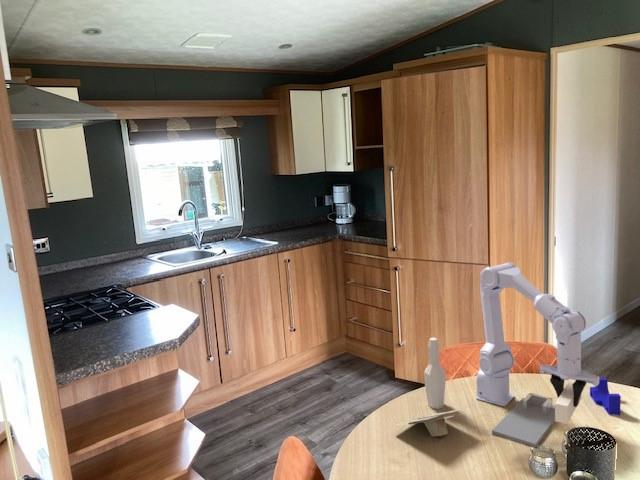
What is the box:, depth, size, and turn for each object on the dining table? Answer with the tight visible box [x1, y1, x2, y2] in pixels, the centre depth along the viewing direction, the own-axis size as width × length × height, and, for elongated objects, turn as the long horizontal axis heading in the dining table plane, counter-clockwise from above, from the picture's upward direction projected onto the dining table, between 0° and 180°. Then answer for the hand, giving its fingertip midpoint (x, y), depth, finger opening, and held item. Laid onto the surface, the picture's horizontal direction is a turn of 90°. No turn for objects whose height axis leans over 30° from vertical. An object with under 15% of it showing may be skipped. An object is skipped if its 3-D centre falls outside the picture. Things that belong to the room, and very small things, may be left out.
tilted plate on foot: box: [392, 408, 466, 438], centre depth 148 cm, size 16×9×15 cm
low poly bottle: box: [423, 337, 447, 410], centre depth 163 cm, size 6×6×22 cm
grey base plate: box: [491, 392, 556, 448], centre depth 151 cm, size 12×23×4 cm, turn 138°
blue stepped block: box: [589, 377, 622, 416], centre depth 157 cm, size 12×4×6 cm, turn 170°
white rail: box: [554, 379, 582, 425], centre depth 142 cm, size 3×16×5 cm, turn 142°
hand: (568, 403), depth 142 cm, fingers closed on white rail, 3 cm apart
